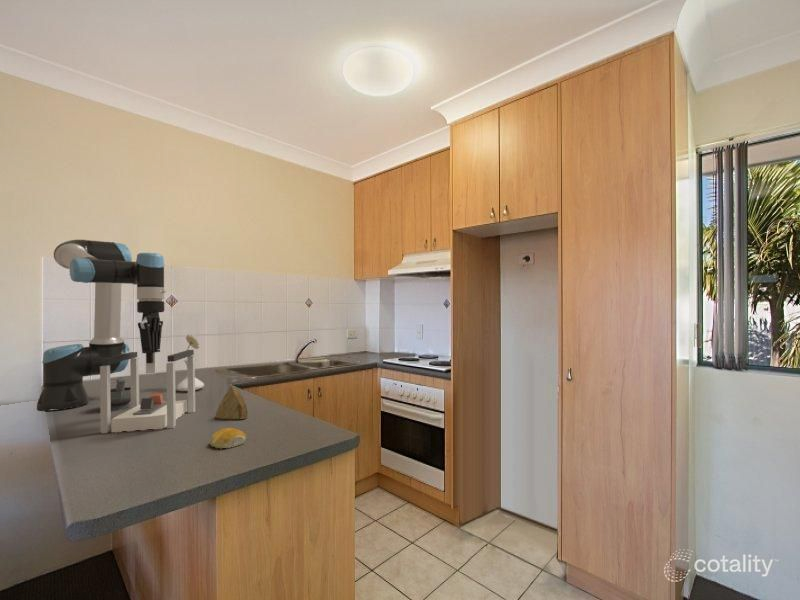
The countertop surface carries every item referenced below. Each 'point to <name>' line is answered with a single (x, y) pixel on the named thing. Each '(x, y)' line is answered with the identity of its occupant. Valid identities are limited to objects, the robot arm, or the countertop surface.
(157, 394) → the terracotta block
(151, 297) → the robot arm
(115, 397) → the mortar and pestle
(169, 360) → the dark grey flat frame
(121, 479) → the countertop surface
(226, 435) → the bread roll
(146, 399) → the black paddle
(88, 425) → the countertop surface
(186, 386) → the flower in vase
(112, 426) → the white grey open frame
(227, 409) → the rock
